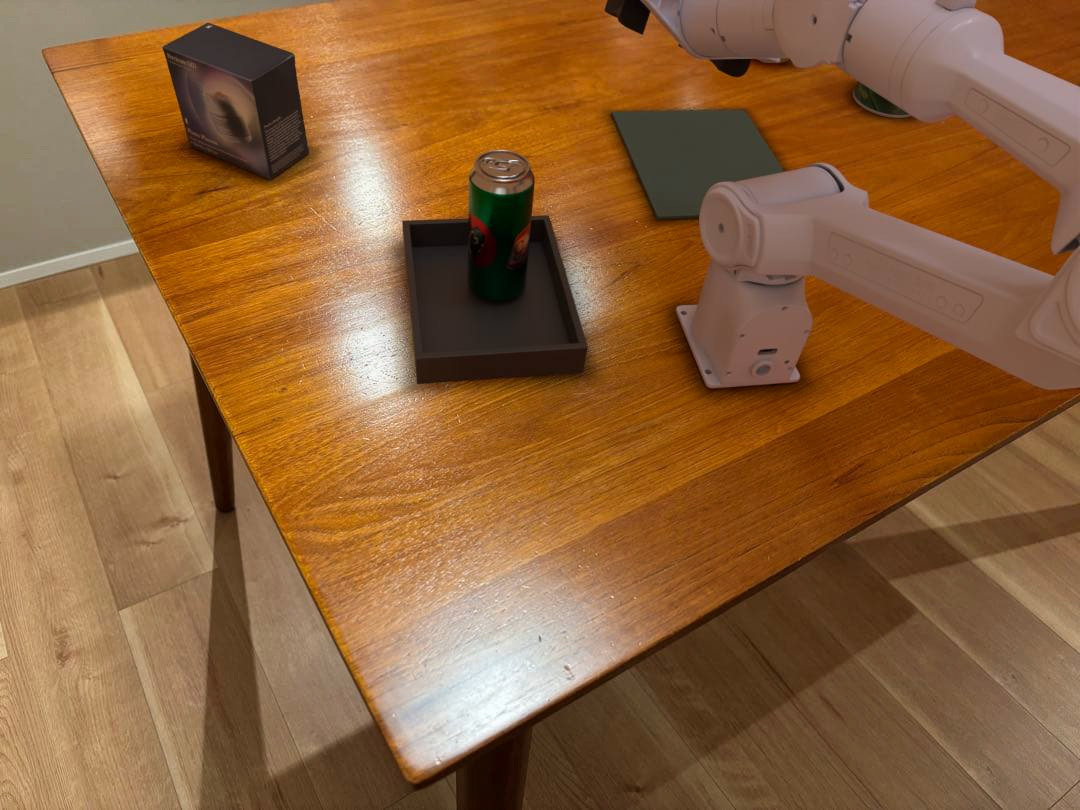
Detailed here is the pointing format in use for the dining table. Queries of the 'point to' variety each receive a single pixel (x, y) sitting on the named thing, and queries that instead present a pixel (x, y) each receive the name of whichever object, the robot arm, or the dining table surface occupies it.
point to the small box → (238, 99)
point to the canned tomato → (876, 103)
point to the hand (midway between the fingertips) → (649, 17)
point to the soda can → (499, 224)
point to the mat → (691, 155)
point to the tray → (488, 310)
